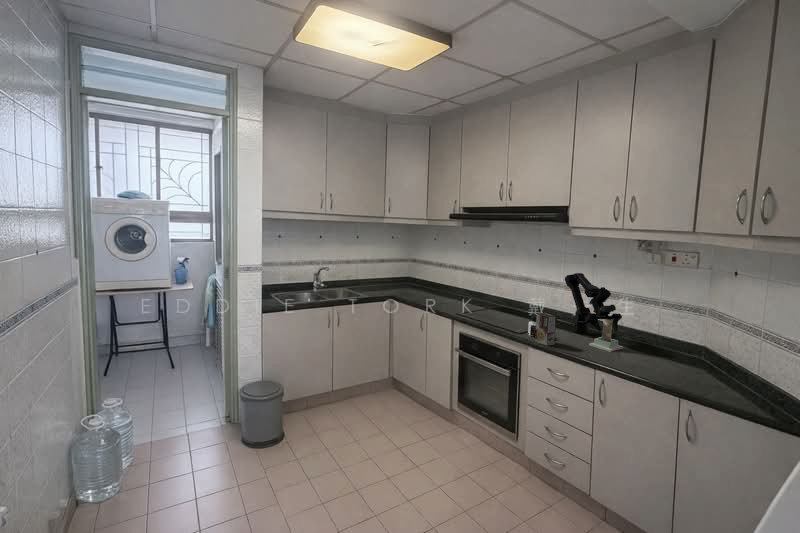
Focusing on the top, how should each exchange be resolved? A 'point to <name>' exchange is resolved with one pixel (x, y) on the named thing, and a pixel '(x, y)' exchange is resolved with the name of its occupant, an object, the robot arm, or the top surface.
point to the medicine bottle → (532, 326)
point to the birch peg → (607, 330)
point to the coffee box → (545, 328)
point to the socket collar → (606, 344)
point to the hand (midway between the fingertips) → (608, 331)
